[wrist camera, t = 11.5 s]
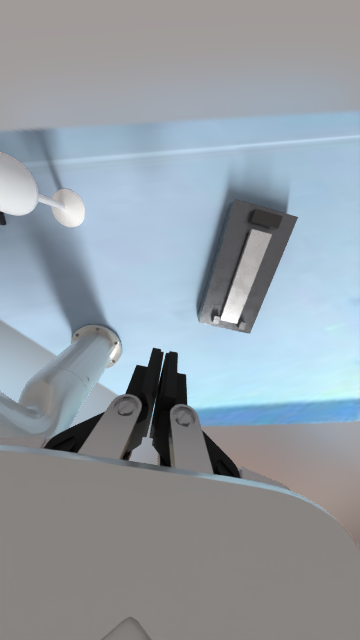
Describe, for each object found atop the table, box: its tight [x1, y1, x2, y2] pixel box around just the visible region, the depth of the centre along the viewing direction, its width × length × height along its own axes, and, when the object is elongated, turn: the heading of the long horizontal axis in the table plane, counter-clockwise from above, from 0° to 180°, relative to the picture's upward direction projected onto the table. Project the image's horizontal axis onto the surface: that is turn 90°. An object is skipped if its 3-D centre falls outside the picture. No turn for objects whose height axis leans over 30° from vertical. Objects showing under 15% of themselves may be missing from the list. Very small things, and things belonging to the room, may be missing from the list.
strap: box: [220, 229, 272, 324], centre depth 36 cm, size 18×4×1 cm, turn 167°
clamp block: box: [197, 199, 298, 334], centre depth 37 cm, size 24×12×6 cm, turn 167°
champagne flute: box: [0, 152, 85, 227], centre depth 24 cm, size 7×7×24 cm
